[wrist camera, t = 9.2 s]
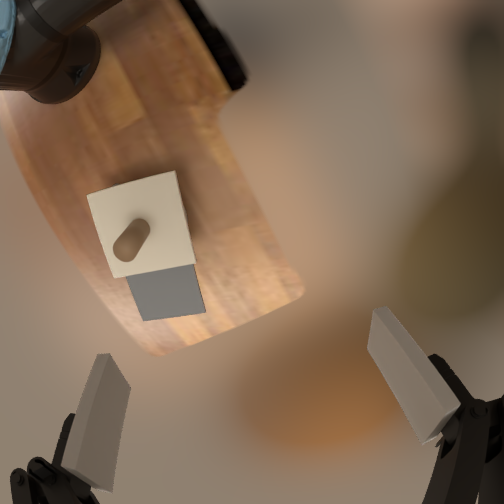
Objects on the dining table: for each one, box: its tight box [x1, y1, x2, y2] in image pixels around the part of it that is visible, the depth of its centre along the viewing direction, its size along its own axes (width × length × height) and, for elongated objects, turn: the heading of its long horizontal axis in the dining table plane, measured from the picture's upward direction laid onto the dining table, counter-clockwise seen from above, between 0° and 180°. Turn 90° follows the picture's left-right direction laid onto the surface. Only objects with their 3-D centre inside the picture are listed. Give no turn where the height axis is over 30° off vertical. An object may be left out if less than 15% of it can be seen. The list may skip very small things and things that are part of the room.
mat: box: [126, 264, 206, 321], centre depth 49 cm, size 13×13×1 cm
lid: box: [87, 170, 197, 278], centre depth 33 cm, size 13×13×8 cm
